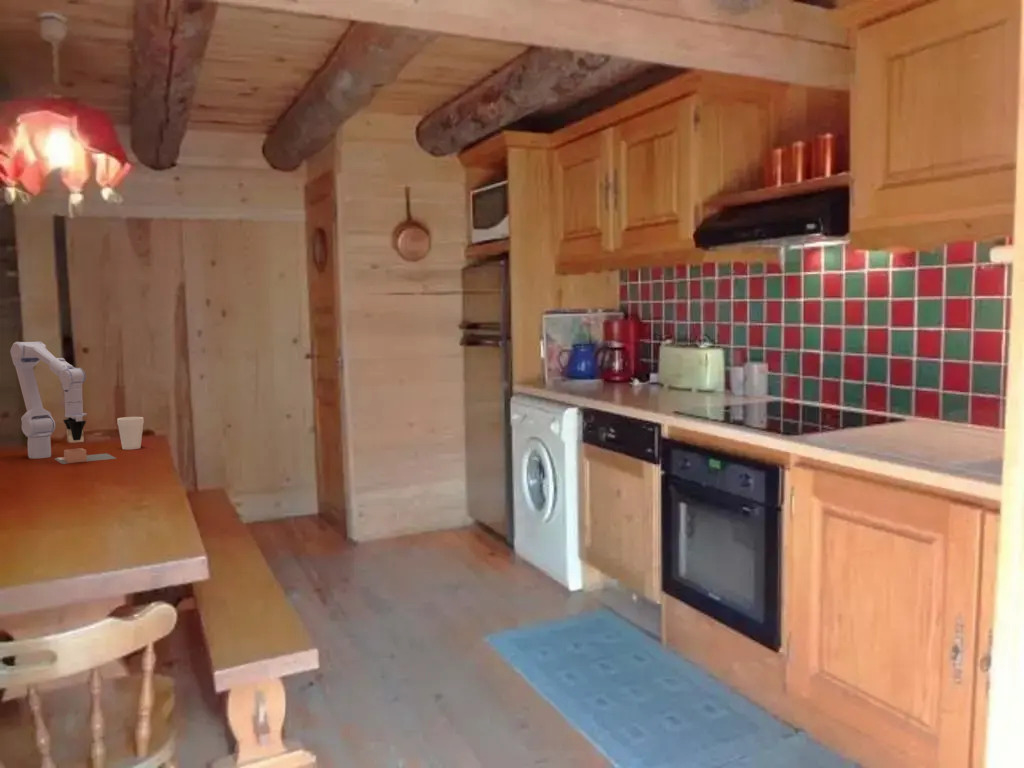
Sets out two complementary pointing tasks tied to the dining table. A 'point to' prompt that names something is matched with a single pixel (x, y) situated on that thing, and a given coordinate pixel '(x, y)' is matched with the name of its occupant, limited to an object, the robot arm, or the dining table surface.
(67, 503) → the dining table surface
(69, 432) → the cream cube
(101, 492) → the dining table surface
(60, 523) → the dining table surface
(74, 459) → the terracotta block
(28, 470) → the dining table surface
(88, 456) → the build board
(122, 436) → the foam cup
